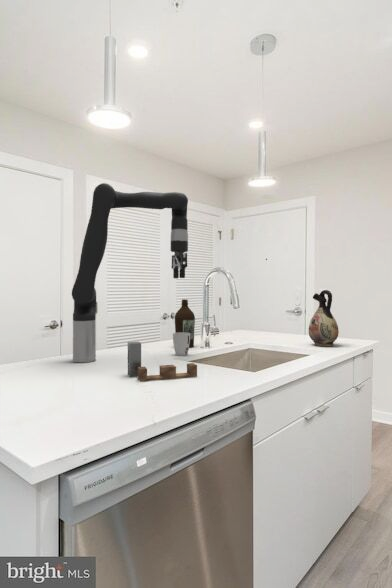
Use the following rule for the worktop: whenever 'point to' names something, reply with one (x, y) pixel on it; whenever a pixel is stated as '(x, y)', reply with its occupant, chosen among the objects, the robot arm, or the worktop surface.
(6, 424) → the worktop surface
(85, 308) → the robot arm
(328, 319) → the ceramic jug
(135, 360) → the gray rectangular block
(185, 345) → the cup
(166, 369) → the brown notched bar
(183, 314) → the olive oil
